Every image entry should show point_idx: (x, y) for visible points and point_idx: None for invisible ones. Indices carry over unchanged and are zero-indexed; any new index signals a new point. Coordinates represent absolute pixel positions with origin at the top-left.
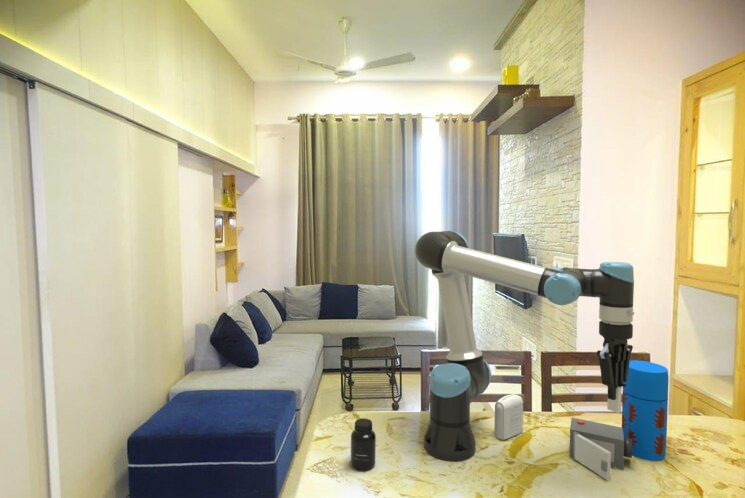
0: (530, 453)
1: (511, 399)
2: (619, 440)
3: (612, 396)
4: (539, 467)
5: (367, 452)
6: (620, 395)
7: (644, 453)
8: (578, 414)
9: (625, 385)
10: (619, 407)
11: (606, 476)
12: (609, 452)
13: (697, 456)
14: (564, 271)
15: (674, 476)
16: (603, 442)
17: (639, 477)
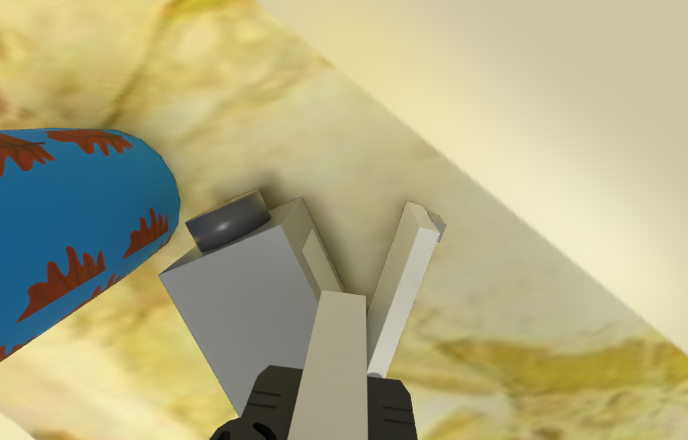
0: (451, 422)
1: None
2: (289, 240)
3: (411, 414)
4: (508, 370)
5: None
6: (317, 374)
7: (161, 176)
8: (60, 436)
9: (237, 433)
10: (343, 311)
11: (424, 209)
12: (425, 230)
13: None
14: None
15: (193, 64)
16: (320, 285)
17: (304, 143)
